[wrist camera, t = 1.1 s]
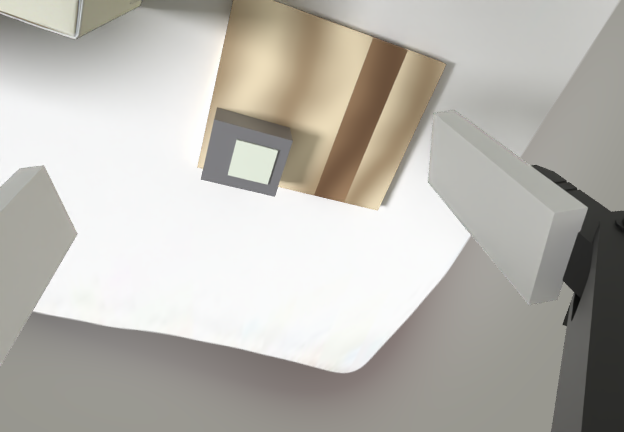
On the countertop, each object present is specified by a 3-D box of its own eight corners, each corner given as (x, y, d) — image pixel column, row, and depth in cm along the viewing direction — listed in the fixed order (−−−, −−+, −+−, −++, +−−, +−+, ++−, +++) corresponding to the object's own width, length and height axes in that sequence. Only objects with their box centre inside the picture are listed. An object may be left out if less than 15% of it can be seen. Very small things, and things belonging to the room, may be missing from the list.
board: (198, 161, 36) (197, 167, 35) (236, -14, 29) (235, -13, 28) (374, 204, 40) (377, 210, 39) (440, 61, 34) (446, 64, 33)
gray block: (204, 163, 35) (200, 180, 32) (216, 107, 32) (213, 120, 30) (273, 180, 36) (274, 197, 34) (289, 127, 34) (293, 141, 31)
